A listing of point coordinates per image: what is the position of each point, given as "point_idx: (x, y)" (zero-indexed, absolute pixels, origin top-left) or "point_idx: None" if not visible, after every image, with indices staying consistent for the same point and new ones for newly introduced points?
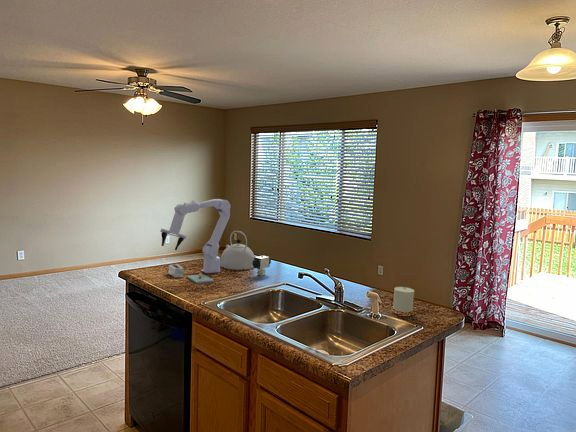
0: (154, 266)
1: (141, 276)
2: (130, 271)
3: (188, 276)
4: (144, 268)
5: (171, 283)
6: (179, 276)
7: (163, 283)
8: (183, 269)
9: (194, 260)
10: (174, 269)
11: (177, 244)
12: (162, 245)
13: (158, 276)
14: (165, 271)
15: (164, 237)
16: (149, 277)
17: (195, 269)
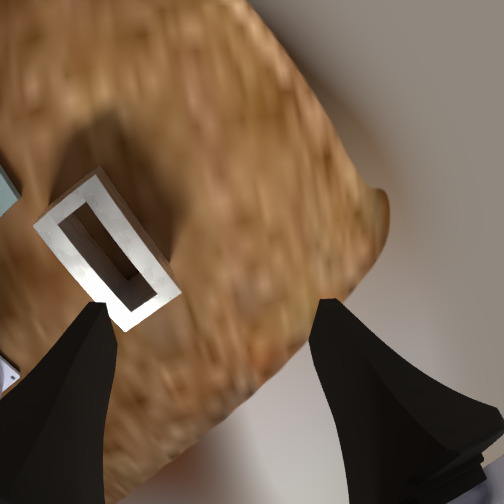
0: (279, 365)
1: (312, 155)
2: (368, 245)
3: (3, 180)
4: None
5: (95, 18)
6: (69, 188)
7: (149, 8)
8: (36, 221)
9: (141, 482)
10: (97, 176)
11: (54, 369)
12: (329, 303)
13: (215, 172)
14: (201, 302)
15: (406, 403)
16: (265, 138)
17: None
